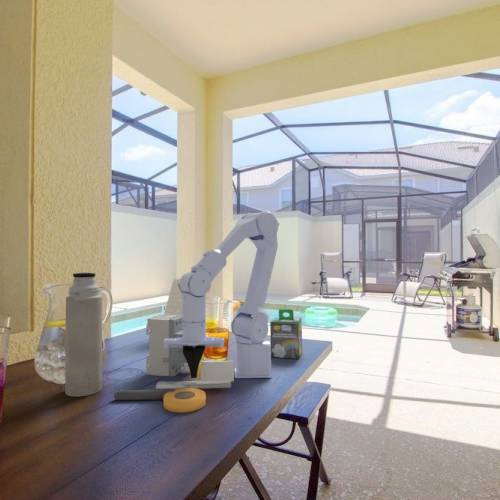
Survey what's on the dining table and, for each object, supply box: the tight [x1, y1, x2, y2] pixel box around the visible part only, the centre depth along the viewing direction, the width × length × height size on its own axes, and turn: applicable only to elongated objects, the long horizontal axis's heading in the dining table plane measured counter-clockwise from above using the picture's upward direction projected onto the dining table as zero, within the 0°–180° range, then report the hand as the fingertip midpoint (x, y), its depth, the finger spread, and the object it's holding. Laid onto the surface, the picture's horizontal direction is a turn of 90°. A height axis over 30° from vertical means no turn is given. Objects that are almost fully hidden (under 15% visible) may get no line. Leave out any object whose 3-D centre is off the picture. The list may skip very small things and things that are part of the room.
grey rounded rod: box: [113, 389, 176, 401], centre depth 83 cm, size 14×2×2 cm, turn 93°
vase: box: [163, 277, 182, 315], centre depth 147 cm, size 17×17×23 cm
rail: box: [155, 380, 232, 390], centre depth 91 cm, size 18×2×1 cm, turn 93°
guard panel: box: [200, 360, 235, 382], centre depth 91 cm, size 8×1×5 cm, turn 93°
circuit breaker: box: [145, 314, 188, 378], centre depth 103 cm, size 8×14×15 cm, turn 78°
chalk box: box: [269, 308, 303, 360], centre depth 120 cm, size 9×9×15 cm
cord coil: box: [162, 388, 207, 414], centre depth 80 cm, size 9×9×2 cm
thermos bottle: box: [64, 272, 103, 398], centre depth 89 cm, size 8×8×28 cm
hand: (194, 376), depth 91 cm, fingers closed
